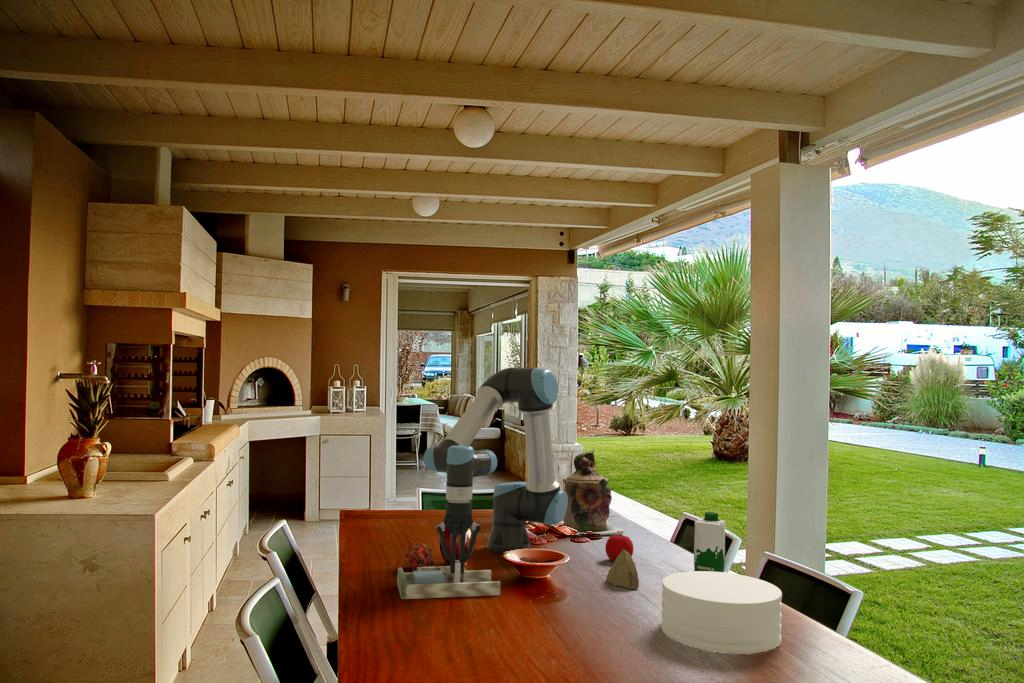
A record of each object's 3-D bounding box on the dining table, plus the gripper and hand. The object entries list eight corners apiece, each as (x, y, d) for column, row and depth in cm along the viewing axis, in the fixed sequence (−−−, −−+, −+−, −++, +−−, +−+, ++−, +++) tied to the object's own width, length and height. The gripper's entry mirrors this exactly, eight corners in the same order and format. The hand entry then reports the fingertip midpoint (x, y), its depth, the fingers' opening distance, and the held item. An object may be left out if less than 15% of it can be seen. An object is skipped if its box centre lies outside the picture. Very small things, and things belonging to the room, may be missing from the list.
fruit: (632, 558, 257) (632, 528, 257) (633, 565, 248) (634, 534, 248) (604, 557, 258) (605, 527, 258) (605, 563, 249) (606, 533, 249)
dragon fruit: (420, 569, 241) (422, 585, 229) (398, 554, 239) (399, 569, 228) (436, 548, 241) (439, 563, 230) (415, 533, 240) (417, 547, 228)
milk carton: (726, 578, 234) (727, 513, 235) (720, 585, 226) (721, 518, 227) (698, 574, 238) (699, 510, 239) (690, 581, 230) (691, 514, 231)
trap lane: (486, 576, 229) (486, 559, 229) (500, 595, 210) (500, 576, 210) (395, 579, 222) (396, 562, 222) (401, 599, 204) (402, 580, 204)
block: (440, 588, 216) (441, 570, 216) (443, 595, 209) (444, 576, 209) (412, 589, 214) (412, 571, 214) (414, 596, 207) (415, 577, 208)
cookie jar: (545, 525, 310) (547, 446, 311) (600, 523, 317) (602, 446, 319) (568, 538, 286) (570, 453, 288) (627, 535, 294) (629, 453, 295)
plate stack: (692, 608, 203) (693, 565, 204) (798, 633, 186) (798, 586, 186) (640, 634, 182) (641, 585, 182) (753, 665, 164) (754, 611, 165)
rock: (649, 582, 219) (640, 568, 229) (633, 559, 218) (625, 546, 228) (618, 604, 219) (611, 589, 229) (602, 581, 218) (595, 567, 227)
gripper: (437, 503, 210) (435, 589, 209) (484, 502, 213) (481, 587, 212) (434, 498, 217) (432, 581, 216) (479, 498, 220) (476, 580, 219)
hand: (456, 584), depth 214 cm, fingers closed
